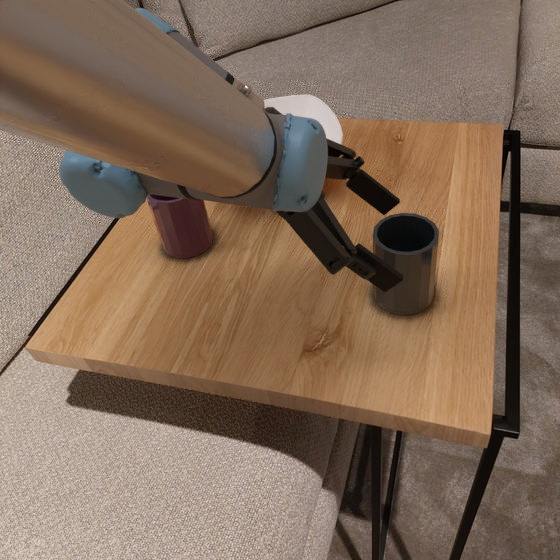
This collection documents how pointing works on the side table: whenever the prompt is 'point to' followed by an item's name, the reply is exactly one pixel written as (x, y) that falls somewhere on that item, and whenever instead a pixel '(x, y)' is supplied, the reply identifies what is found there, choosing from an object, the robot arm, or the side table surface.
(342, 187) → the side table surface
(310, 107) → the bowl
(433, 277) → the slate cup
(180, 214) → the plum cup
